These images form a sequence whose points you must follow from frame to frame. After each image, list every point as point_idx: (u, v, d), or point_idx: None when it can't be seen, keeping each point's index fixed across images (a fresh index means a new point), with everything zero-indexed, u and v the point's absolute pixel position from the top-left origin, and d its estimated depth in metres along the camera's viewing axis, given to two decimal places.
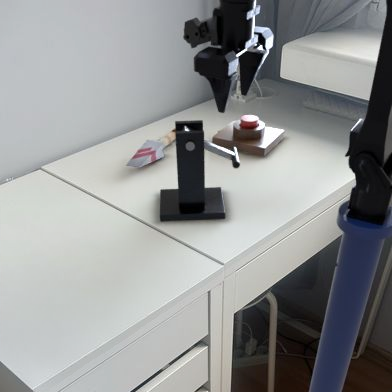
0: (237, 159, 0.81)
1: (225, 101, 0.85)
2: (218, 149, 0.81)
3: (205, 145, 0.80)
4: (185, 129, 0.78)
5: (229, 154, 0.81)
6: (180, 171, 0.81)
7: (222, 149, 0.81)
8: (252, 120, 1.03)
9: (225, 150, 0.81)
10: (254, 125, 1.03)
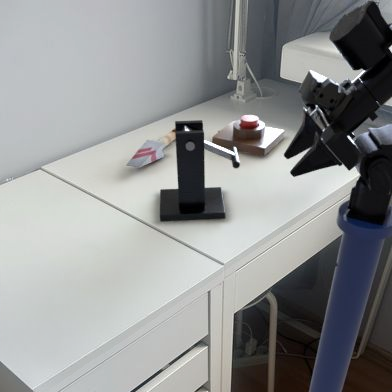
0: (237, 159, 0.81)
1: (306, 171, 0.80)
2: (218, 149, 0.81)
3: (205, 145, 0.80)
4: (185, 129, 0.78)
5: (229, 154, 0.81)
6: (180, 171, 0.81)
7: (222, 149, 0.81)
8: (252, 120, 1.03)
9: (225, 150, 0.81)
10: (254, 125, 1.03)
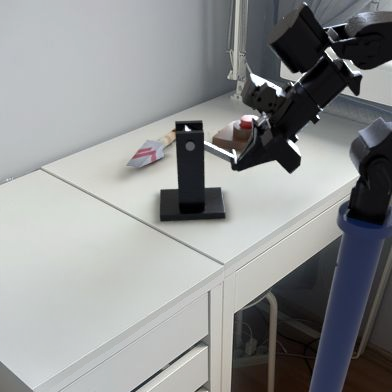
0: (236, 162, 0.81)
1: (249, 166, 0.83)
2: (217, 151, 0.81)
3: (205, 146, 0.80)
4: (186, 129, 0.78)
5: (228, 156, 0.82)
6: (180, 171, 0.81)
7: (221, 151, 0.81)
8: None
9: (224, 152, 0.82)
10: None
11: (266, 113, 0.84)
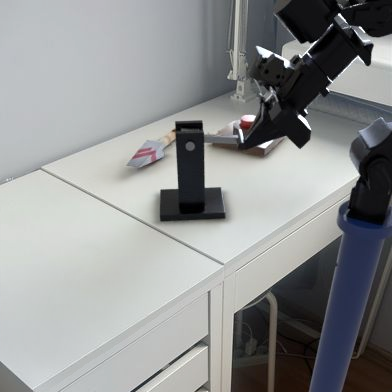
0: (241, 140, 0.78)
1: (257, 143, 0.80)
2: (220, 138, 0.79)
3: (206, 139, 0.79)
4: None
5: (233, 138, 0.80)
6: (180, 171, 0.81)
7: (224, 136, 0.80)
8: (252, 120, 1.03)
9: (228, 136, 0.80)
10: None
11: (273, 89, 0.81)
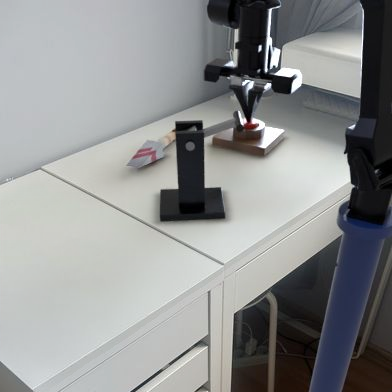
0: (238, 122, 0.76)
1: (244, 111, 1.02)
2: (218, 127, 0.78)
3: (205, 133, 0.79)
4: None
5: (231, 123, 0.78)
6: (180, 171, 0.81)
7: (222, 124, 0.78)
8: (252, 123, 1.03)
9: (225, 122, 0.78)
10: None
11: None
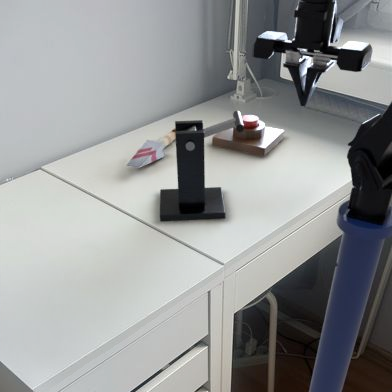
0: (238, 122, 0.76)
1: (298, 93, 0.87)
2: (218, 127, 0.78)
3: (205, 133, 0.79)
4: None
5: (231, 123, 0.78)
6: (180, 171, 0.81)
7: (222, 124, 0.78)
8: (252, 120, 1.03)
9: (225, 122, 0.78)
10: (254, 125, 1.03)
11: None
